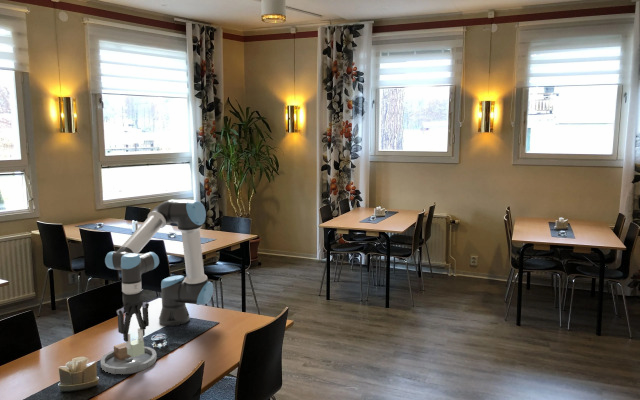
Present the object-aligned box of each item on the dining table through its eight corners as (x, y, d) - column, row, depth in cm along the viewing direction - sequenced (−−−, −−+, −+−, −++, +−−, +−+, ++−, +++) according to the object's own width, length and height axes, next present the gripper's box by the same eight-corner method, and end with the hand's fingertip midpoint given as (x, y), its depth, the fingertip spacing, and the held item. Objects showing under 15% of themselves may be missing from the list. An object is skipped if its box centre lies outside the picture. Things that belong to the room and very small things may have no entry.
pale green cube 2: (127, 354, 216) (126, 342, 216) (138, 350, 220) (137, 339, 220) (133, 357, 213) (132, 345, 213) (144, 353, 217) (144, 341, 216)
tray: (91, 363, 220) (91, 357, 220) (139, 347, 237) (138, 341, 237) (117, 379, 206) (117, 373, 206) (166, 361, 223) (166, 355, 222)
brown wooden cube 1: (114, 357, 225) (113, 345, 224) (125, 353, 228) (124, 342, 228) (120, 360, 222) (119, 349, 221) (131, 356, 225) (130, 345, 225)
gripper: (115, 298, 205) (118, 355, 207) (156, 288, 218) (158, 341, 221) (106, 295, 209) (109, 350, 212) (147, 285, 223) (149, 337, 226)
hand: (134, 345), depth 217 cm, fingers closed on pale green cube 2, 5 cm apart
